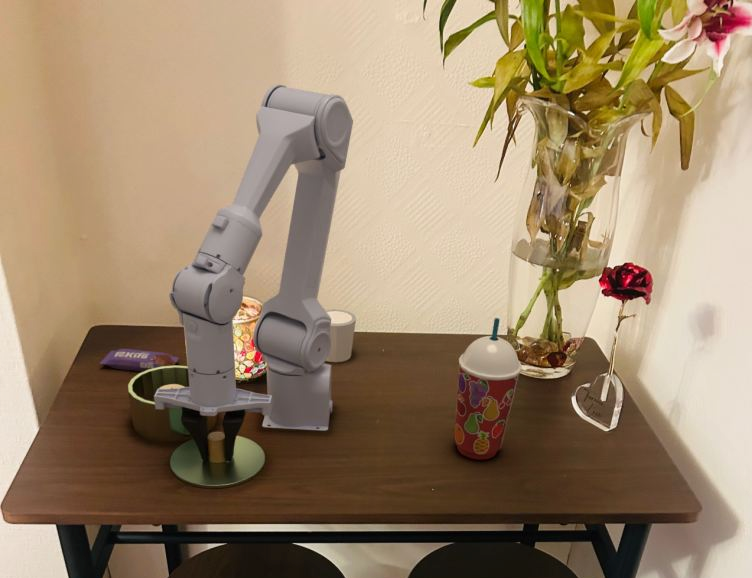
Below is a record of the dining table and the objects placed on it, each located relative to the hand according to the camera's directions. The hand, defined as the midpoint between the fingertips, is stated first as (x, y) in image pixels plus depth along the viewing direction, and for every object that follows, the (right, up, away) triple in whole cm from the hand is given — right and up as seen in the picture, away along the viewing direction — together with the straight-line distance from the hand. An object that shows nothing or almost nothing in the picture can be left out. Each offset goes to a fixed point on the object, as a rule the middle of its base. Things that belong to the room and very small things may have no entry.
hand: (217, 456), depth 103 cm
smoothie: (+35, +1, +8) cm, 36 cm away
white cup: (+14, +18, +31) cm, 38 cm away
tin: (-8, +5, +9) cm, 13 cm away
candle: (-8, +5, +9) cm, 13 cm away
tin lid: (0, -1, 0) cm, 1 cm away
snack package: (-17, +15, +23) cm, 32 cm away
